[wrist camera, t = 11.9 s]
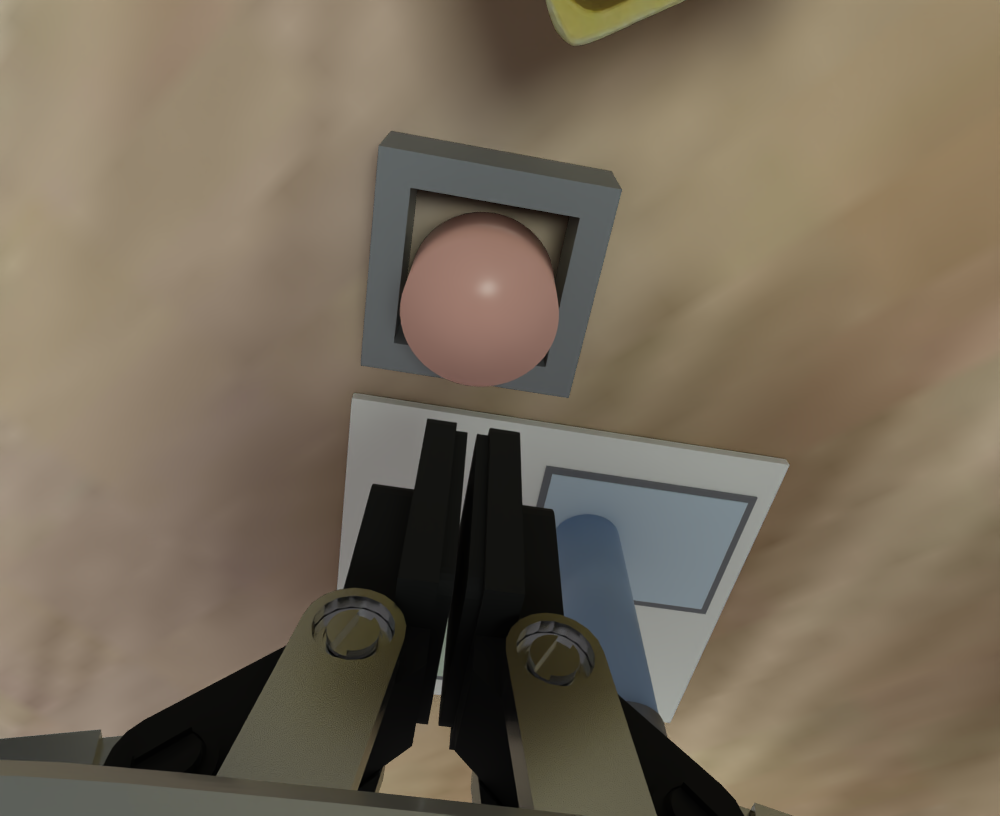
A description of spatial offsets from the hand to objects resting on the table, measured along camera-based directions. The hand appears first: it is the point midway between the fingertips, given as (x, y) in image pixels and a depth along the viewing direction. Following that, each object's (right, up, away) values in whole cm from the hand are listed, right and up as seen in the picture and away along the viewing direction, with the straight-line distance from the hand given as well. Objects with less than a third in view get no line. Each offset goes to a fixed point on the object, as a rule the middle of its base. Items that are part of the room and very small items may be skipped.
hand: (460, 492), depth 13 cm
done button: (0, +5, +9) cm, 11 cm away
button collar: (0, +7, +11) cm, 13 cm away
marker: (+4, -4, +17) cm, 18 cm away
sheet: (+2, -6, +18) cm, 20 cm away
